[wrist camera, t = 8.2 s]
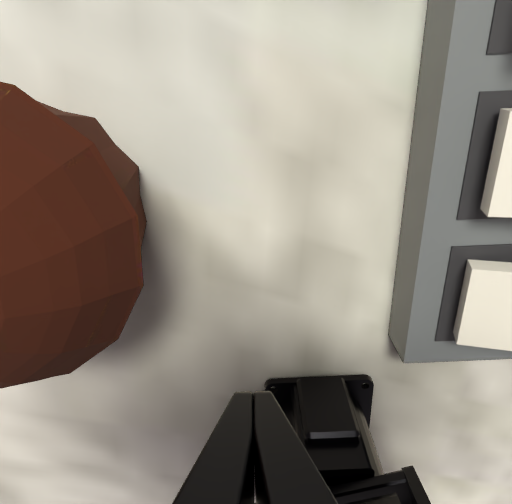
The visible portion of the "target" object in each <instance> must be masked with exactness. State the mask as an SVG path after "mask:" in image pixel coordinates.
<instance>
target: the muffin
mask: <svg viewBox="0 0 512 504" xmlns="http://www.w3.org/2000/svg"><path fill="white" fill-rule="evenodd" d="M146 222H147V221H146V217H145V213H144V209H143V205H142V201H141V197H140V185H139V167H138V166H137V165H136V164H135V163H134V162H133V161H132V160H131V159H130V158H129V157H128V156H127V155H126V154H125V153H124V152H123V151H122V150H121V149H119V148H118V147H117V146H116V145H115V143H114V142H113V141H112V139H111V138H110V137H109V136H108V134H107V133H106V132H105V130H104V129H103V128H102V126H101V125H100V124H99V122H98V121H97V120H96V118H93V117H88V116H83V115H78V114H73V113H68V112H63V111H61V110H58V109H56V108H53V107H51V106H48V105H45V104H43V103H40V102H38V101H36V100H34V99H33V98H31V97H30V96H29V95H27V94H26V93H25V92H23V91H22V90H20V89H19V88H18V87H16V86H15V85H12V84H8V83H3V82H0V388H5V387H9V386H14V385H19V384H24V383H28V382H33V381H38V380H42V379H46V378H50V377H54V376H59V375H64V374H69V373H71V372H73V371H74V370H75V369H77V368H78V367H80V366H81V365H82V364H84V363H85V362H87V361H88V360H89V359H91V358H92V357H94V356H95V355H97V354H98V353H99V352H101V351H102V350H104V349H105V348H106V347H108V346H109V345H111V344H112V343H113V342H115V341H116V340H118V338H119V336H120V334H121V332H122V330H123V328H124V325H125V323H126V321H127V319H128V317H129V315H130V313H131V311H132V308H133V306H134V304H135V302H136V300H137V298H138V296H139V294H140V292H141V289H142V287H143V285H144V284H143V273H142V261H141V246H142V241H143V236H144V231H145V227H146Z"/></svg>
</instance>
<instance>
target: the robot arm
mask: <svg viewBox="0 0 512 504" xmlns="http://www.w3.org/2000/svg"><path fill="white" fill-rule="evenodd" d="M363 383H366V384H364V385H363ZM271 387H276V388H271ZM373 387H374V385H373V381H372V379H371V377H370V376H368V375H349V376H325V377H302V378H278V379H269V380H268V381H267V382H266V383H265V391H255V392H254V393H252V392H250V391H247V392H236V393H234V395H233V396H232V398H231V400H230V402H229V403H228V405H227V407H226V409H225V411H224V412H223V414H222V416H221V418H220V419H219V421H218V423H217V425H216V427H215V428H214V430H213V432H212V434H211V435H210V437H209V439H208V441H207V443H206V444H205V446H204V448H203V450H202V451H201V453H200V455H199V457H198V459H197V460H196V462H195V464H194V466H193V467H192V469H191V471H190V473H189V475H188V476H187V478H186V480H185V482H184V483H183V485H182V487H181V489H180V491H179V492H178V494H177V496H176V498H175V499H174V501H173V503H172V504H431V503H430V501H429V498H428V496H427V494H426V492H425V490H424V488H423V486H422V484H421V482H420V480H419V478H418V476H417V474H416V472H415V469H414V467H413V466H409V467H404V468H402V470H400V471H396V472H391V473H387V474H384V473H383V470H382V467H381V464H380V461H379V458H378V455H377V452H376V449H375V446H374V443H373V440H372V437H371V434H370V431H369V424H370V415H371V406H372V396H373ZM254 467H255V472H254ZM254 496H256V503H254Z"/></svg>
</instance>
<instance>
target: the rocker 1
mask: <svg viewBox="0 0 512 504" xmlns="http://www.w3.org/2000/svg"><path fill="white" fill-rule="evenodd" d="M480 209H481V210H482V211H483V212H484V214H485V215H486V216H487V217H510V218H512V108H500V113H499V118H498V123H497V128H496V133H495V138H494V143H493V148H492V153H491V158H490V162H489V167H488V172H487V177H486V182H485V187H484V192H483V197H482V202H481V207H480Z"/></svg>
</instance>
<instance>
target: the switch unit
mask: <svg viewBox="0 0 512 504" xmlns="http://www.w3.org/2000/svg"><path fill="white" fill-rule="evenodd" d="M500 108H512V0H428V6H427V15H426V23H425V32H424V40H423V48H422V57H421V65H420V73H419V82H418V90H417V99H416V107H415V115H414V124H413V132H412V140H411V149H410V157H409V166H408V174H407V182H406V191H405V199H404V207H403V216H402V224H401V233H400V241H399V249H398V258H397V266H396V274H395V283H394V291H393V299H392V308H391V316H390V325H389V333H388V335H389V337H390V339H391V340H392V342H393V344H394V346H395V348H396V350H397V352H398V354H399V356H400V358H401V359H402V361H403V363H424V362H448V361H471V360H495V359H512V351H506V350H498V349H490V348H482V347H474V346H466V345H458V344H456V341H455V337H454V334H453V330H454V325H455V320H456V315H457V310H458V305H459V300H460V295H461V290H462V285H463V280H464V275H465V270H466V265H467V260H468V259H470V260H484V261H498V262H511V263H512V218H510V217H487V216H486V215H485V214H484V212H483V211H482V210H481V209H480V207H481V202H482V197H483V192H484V187H485V182H486V177H487V172H488V167H489V162H490V158H491V153H492V148H493V143H494V138H495V133H496V128H497V123H498V118H499V113H500Z"/></svg>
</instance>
